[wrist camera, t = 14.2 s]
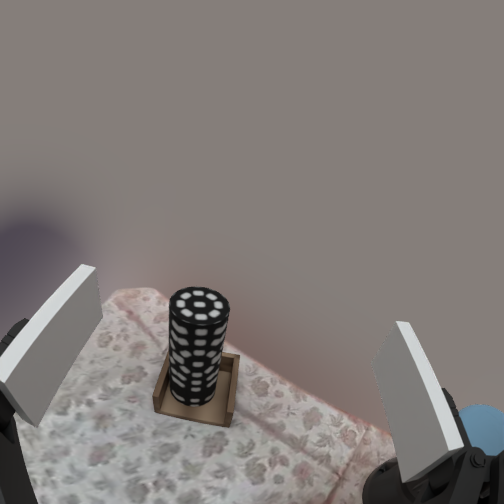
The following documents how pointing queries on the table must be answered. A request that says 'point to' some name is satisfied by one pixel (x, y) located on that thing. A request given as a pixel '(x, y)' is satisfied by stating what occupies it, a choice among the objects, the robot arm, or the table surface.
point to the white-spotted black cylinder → (196, 343)
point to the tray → (210, 413)
